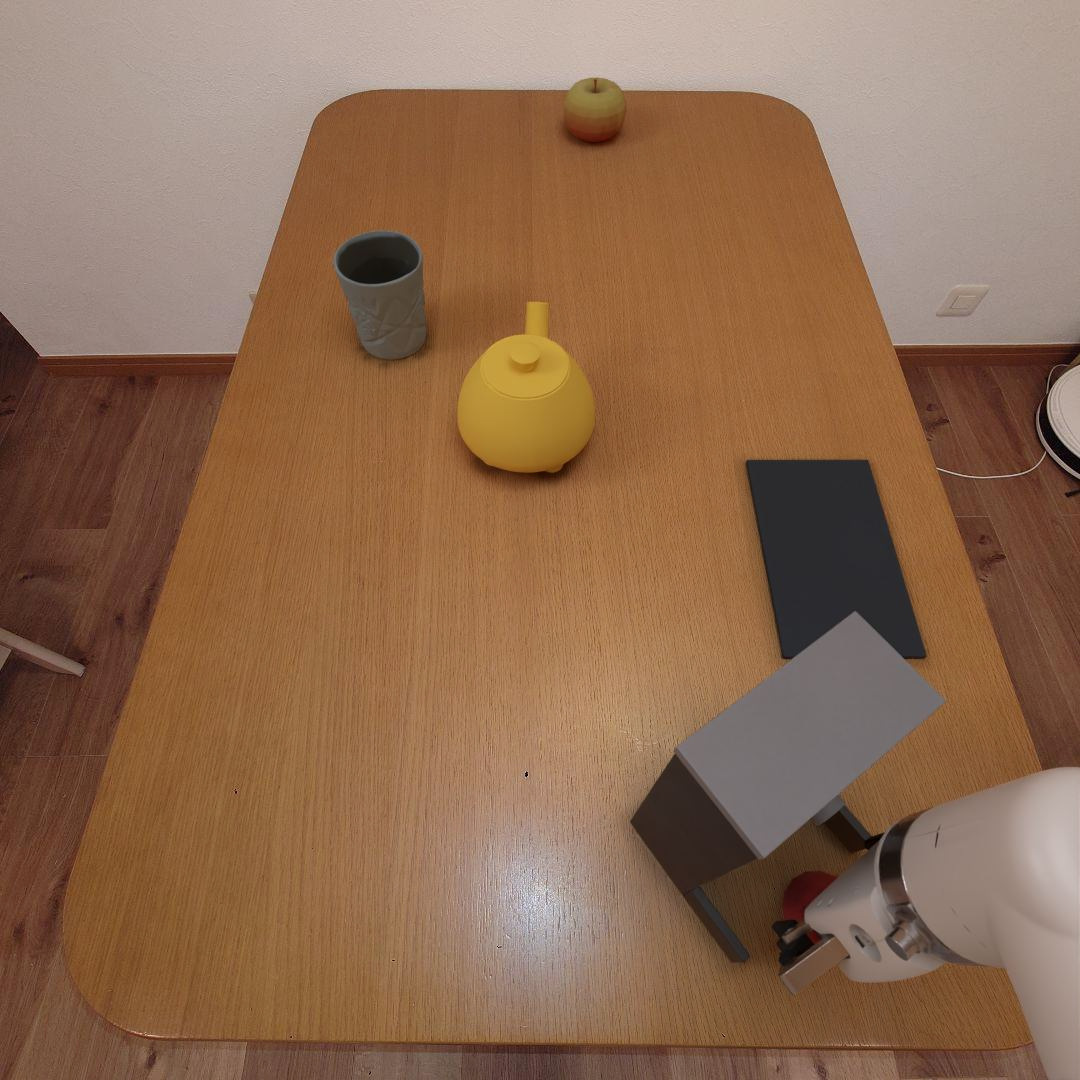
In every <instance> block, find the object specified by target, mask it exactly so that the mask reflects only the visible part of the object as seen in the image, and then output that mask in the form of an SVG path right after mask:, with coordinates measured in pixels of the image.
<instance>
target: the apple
mask: <svg viewBox="0 0 1080 1080" xmlns="http://www.w3.org/2000/svg"><path fill="white" fill-rule="evenodd" d="M563 101H564V102H563V120H564V124H565V125H566V127H567V128H568V130H569V132H570V133H571V135H573V136H574V137H576V138H578V139H579V140H581V141H585V142H588V143H599V142H604V141H606V140H608V139H610V138H612V137H613V136H614V135H616V134H617V133H618V132H619V131H620V129H621V127H622V126H623V124H624V121H625V118H626V114H627V100H626V98H625V95H624V91H623V89H622V88H621V87H620V86H619V85H618V84H617V82H615V81H613V80H610V79H608V78H604V77H588V78H583V79H581V80H578V81H576V82H574V84H573V85H572V86H571V87H570V89H568V91H567V92H566V94H565V96H564V100H563Z"/></svg>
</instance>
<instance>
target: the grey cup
mask: <svg viewBox="0 0 1080 1080" xmlns="http://www.w3.org/2000/svg"><path fill="white" fill-rule="evenodd" d="M422 251H423V250H422V248H421V247H420V245H419V244H418V243H417V241H416V240H415V239H413V238H412V237H411V236H409V235H407V234H405V233H401V232H398V231H395V230H388V229H387V230H386V229H384V230H383V229H382V230H381V229H380V230H372V231H367V232H363V233H360V234H356V235H354V236H352V237H350V238H349V239H347V240H345V241H344V242H343V243H342V244H341V245H340V246H338V248H337V249H336V250H335V253H334V254H333V255H334V256H333V260H332V265H333V268H334V271H335V274H336V277H337V280H338V281H339V284H340V287H341V290H342V292H343V295H344V297H345V299H346V300H347V301H348V302H347V306H348V308H349V311H350V315H351V316H352V320H353V322H354V324H355V328H356V332H357V335H358V337H359V340H360V343H361V345H362V347H363V348H364V350H365V351H366V352H367V353H368V354H369V355H371V356H372V357H375V358H377V359H380V360H387V361H395V360H401V359H405V358H407V357H410V356H412V355H414V354H416V353H417V352H418V351H420V349H422V347H423V346H424V344H425V341H426V339H427V335H428V332H427V330H428V329H427V320H426V314H425V304H426V302H425V294H424V293H425V290H424V282H425V281H424V263H423V261H424V260H423V259H424V257H423V252H422Z"/></svg>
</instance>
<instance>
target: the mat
mask: <svg viewBox="0 0 1080 1080" xmlns="http://www.w3.org/2000/svg"><path fill="white" fill-rule="evenodd" d="M745 467H746V471H747V477H748V482H749V488H750V493H751V498H752V504H753V509H754V515H755V519H756V524H757V525H756V526H757V530H758V536H759V540H760V545H761V550H762V551H761V552H762V557H763V562H764V566H765V567H764V568H765V572H766V578H767V584H768V588H769V593H770V598H771V604H772V609H773V615H774V619H775V624H776V625H775V626H776V629H777V631H776V632H777V636H778V642H779V647H780V651H781V658H782V659H783V660H791V659H793V658H794V657H795V656H796V655H798V654H799V653H800V652H802V651H803V650H804V649H806V648H807V647H808V646H810V645H811V644H812V643H814V642H815V641H816V640H818V639H819V638H820V637H822V636H823V635H824V634H826V633H827V632H828V631H829V630H831V629H832V628H833V627H835V626H836V625H837V624H839V623H840V622H841V621H843V620H844V619H845V618H847V617H848V616H849V615H851V614H852V613H853V612H855V611H856V612H857V613H858V614H859V615H860V616H861V617H862V618H863V619H864V620H865V621H866V622H867V623H868V624H869V625H870V626H871V627H872V628H873V629H874V630H875V631H876V632H877V633H878V634H879V635H880V636H881V637H882V638H883V639H884V640H885V641H887V642H888V643H889V644H890V645H891V646H892V647H893V648H894V649H895V650H896V651H897V652H898V653H899V654H900V655H901V656H902V657H903V658H904V659H925V658H927V653H926V649H925V646H924V642H923V638H922V634H921V632H920V628H919V625H918V622H917V618H916V615H915V612H914V608H913V605H912V602H911V599H910V595H909V593H908V592H909V591H908V588H907V584H906V581H905V578H904V575H903V571H902V567H901V565H900V562H899V559H898V555H897V551H896V548H895V544H894V541H893V538H892V535H891V531H890V528H889V525H888V521H887V518H886V515H885V511H884V507H883V505H882V501H881V498H880V495H879V491H878V487H877V483H876V481H875V477H874V475H873V471H872V467H871V464H870V460H869V459H746V461H745Z"/></svg>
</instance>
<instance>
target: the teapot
mask: <svg viewBox="0 0 1080 1080" xmlns="http://www.w3.org/2000/svg"><path fill="white" fill-rule="evenodd" d="M549 321H550V303H549V302H543V301H526V312H525V328H524V334H515V335H510V336H507V337H503V338H501V339H500V340H498V341H496V342H494V343H493V344H491V346H489V347H487V348H486V350H485V351H484V352H482V354H481V355H480V356H479V357H478V358H477V360H476V361H475V362H474V364H472V366H471V368H470V369H469V371H468V372H467V375H466V376H465V378H464V381H463V383H462V385H461V388H460V391H459V396H458V399H457V400H458V401H457V407H456V420H457V426H458V432H459V434H460V436H461V438H462V441H463V442H464V443H465V445H466V446H467V448H469V450H470V451H471V452H472V453H473V454H474V455H475V456H476V457H477V458H479V459H480V460H482V461H483V463H485V464H486V465H487V466H490V467H495V468H497V469H501V470H505V471H508V472H515V473H524V474H525V473H526V474H527V473H539V472H546V473H557V472H559V471H560V470H561V469H563V467H564V464H566V463H568V462H570V461H571V460H572V459H573V458H575V457H576V456H577V455H578V454H580V453H581V452H582V450H583V449H584V448H585V447H586V445H587V444H588V443H589V440H590V439H591V437H592V435H593V432H594V428H595V424H596V403H595V398H594V394H593V390H592V387H591V384H590V382H589V380H588V377H587V375H586V374H585V371H584V370H583V369H582V368H581V367H580V365H579V363H578V362H577V361H576V360H575V358H574V357H572V355H570V353H568V351H567V350H566V349H565V348H563V347H562V346H561V345H559V344H558V343H557V342H556V341H553V340H552V339H550V338H549V332H550V331H549V330H550V329H549V328H550V325H549V324H550V322H549Z"/></svg>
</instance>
